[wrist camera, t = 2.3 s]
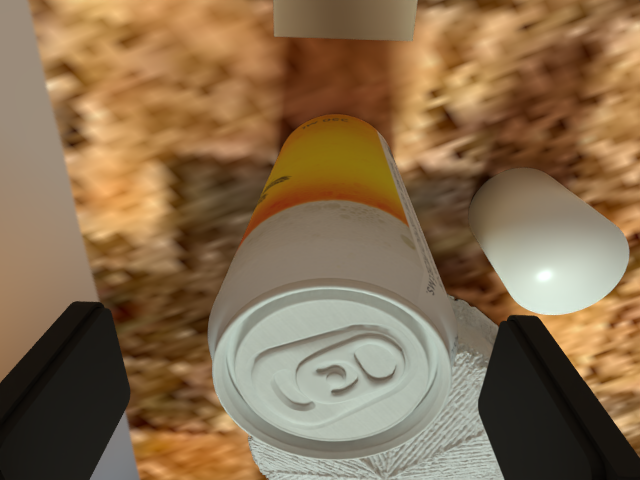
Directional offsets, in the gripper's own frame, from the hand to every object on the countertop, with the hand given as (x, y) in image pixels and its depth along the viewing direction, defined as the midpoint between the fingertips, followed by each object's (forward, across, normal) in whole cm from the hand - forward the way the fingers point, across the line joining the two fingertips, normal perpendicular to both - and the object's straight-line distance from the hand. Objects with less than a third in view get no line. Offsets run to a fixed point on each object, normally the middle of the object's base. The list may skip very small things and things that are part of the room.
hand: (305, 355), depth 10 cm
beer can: (+14, -1, 0) cm, 14 cm away
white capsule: (+14, -11, +2) cm, 18 cm away
